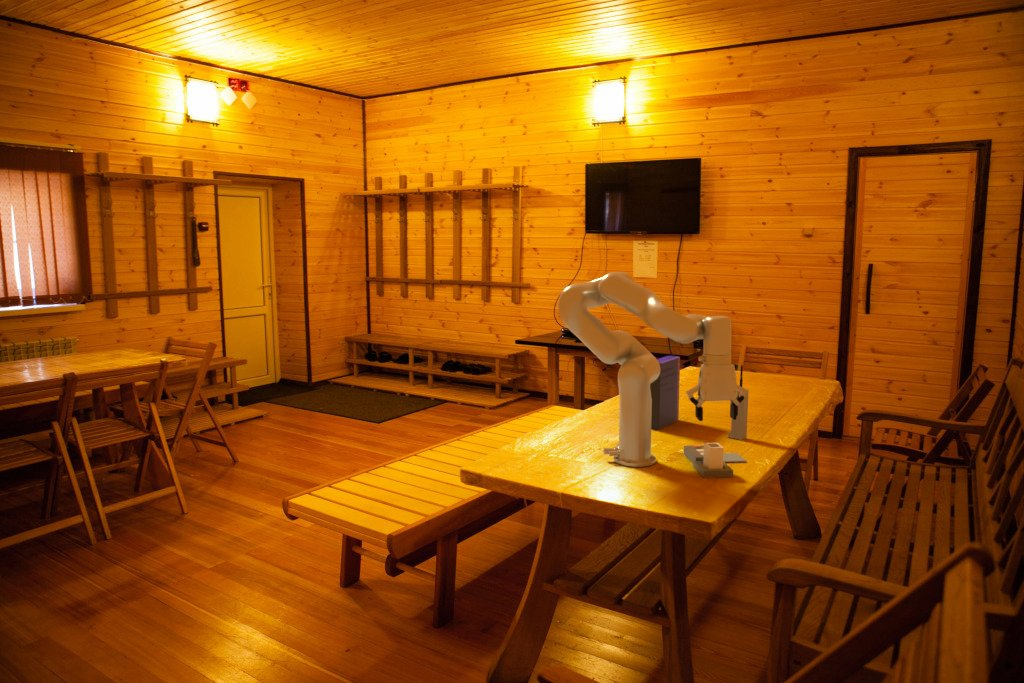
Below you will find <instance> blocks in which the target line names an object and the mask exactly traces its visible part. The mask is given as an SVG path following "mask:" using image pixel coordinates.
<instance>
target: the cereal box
mask: <svg viewBox="0 0 1024 683" xmlns="http://www.w3.org/2000/svg"><path fill="white" fill-rule="evenodd" d="M656 359H657V360H658V362H659V364H660V375H659V377H658V378H657V379H656V380H655V381H654V382H653V383H651V384H650V391H651V400H652V418H651V430H653V429H655V430H654V431H661V430H662V428H663V429H664V427H665V428H667V427H668V426H670V425H672V424H674V423H676V422H678V421H679V418H680V417H679V415H680V413H679V412H680V410H679V408H680V378H681V377H680V376H681V375H680V374H681V373H680V371H681V357H680V356H678V355H677V356H676V355H666V356H662V357H660V358H656ZM677 420H678V421H677ZM675 421H676V422H675ZM666 426H667V427H666ZM660 429H661V430H660Z"/></svg>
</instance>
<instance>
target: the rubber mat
mask: <svg viewBox="0 0 1024 683" xmlns="http://www.w3.org/2000/svg"><path fill="white" fill-rule="evenodd" d="M723 462H735V464H739V462H740V463H741V464H742V463H743V462H744V463H747V460H746V459H745V458H743V456H741V455H740V454H739V453H738V452H723Z"/></svg>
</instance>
